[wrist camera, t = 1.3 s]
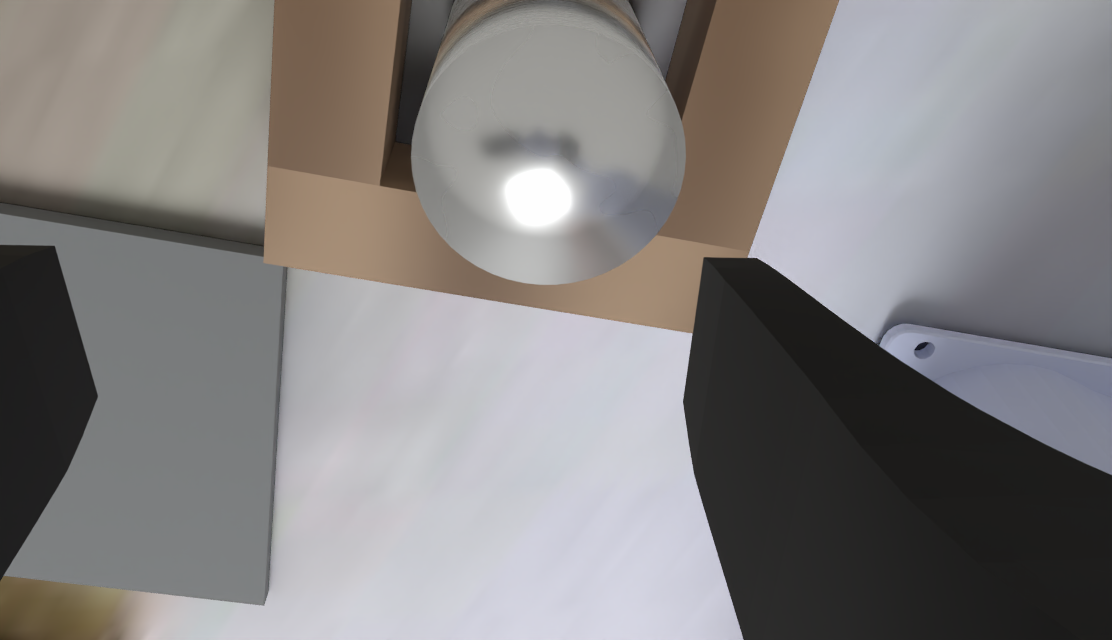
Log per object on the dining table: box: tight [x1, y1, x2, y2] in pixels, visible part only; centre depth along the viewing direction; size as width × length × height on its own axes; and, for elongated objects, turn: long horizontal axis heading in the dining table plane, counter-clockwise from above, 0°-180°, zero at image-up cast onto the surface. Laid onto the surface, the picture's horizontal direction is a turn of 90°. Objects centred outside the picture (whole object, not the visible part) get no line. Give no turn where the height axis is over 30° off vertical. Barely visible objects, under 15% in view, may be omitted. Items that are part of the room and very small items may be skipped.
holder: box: [263, 0, 839, 333], centre depth 18 cm, size 10×10×2 cm
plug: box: [411, 0, 686, 285], centre depth 16 cm, size 4×4×7 cm
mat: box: [0, 203, 287, 606], centre depth 23 cm, size 12×12×1 cm
